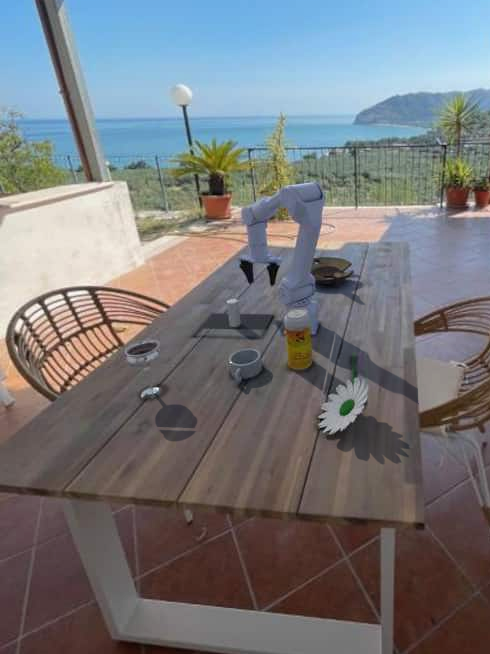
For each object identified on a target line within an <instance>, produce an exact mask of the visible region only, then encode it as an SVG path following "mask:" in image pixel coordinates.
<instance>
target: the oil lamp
mask: <svg viewBox="0 0 490 654" xmlns="http://www.w3.org/2000/svg"><path fill="white" fill-rule="evenodd" d="M352 265H353V264H352V262H350V261H349V260H347V259H344V258H341V257H330V256H318V257H314V259H313V263H312V267H311V271H310V273H311V274H312V275H313V276H314V278H315V279H316V280H315V284H316V283H317V284H332V285H334V286H340V285H341V284H342V283H343V281H344V280H346V279H348V278H350V277H352V275H353V274H354V273H355V271H354V270H349V271H347V270H348V269H349V268H350V267H351V266H352ZM345 271H346V272H345ZM326 277H330V278H326ZM331 277H332V278H331Z"/></svg>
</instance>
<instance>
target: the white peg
mask: <svg viewBox="0 0 490 654" xmlns="http://www.w3.org/2000/svg"><path fill="white" fill-rule="evenodd" d="M226 305H227V306H226V307H227V308H226V309H227V314H228V315H229V323H230V326H231V327H238V326H240V325H241V321H240V314H241V313H240V307H239V306H240V305H239V299H237V298H230V299H227V300H226Z"/></svg>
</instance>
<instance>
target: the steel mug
mask: <svg viewBox="0 0 490 654" xmlns="http://www.w3.org/2000/svg"><path fill="white" fill-rule="evenodd" d="M261 357H262V356H261V352H260V351H259V350H258V349H255V348H243V349H239V350H236V351H235V352H233V353H232V354H230V356H229V357H228V363H229V370H230V375H231V376H232V377H233V378H234V381H235V385H236V386H239V385H240V384H241V382H242V381H243V380H245V379H249V378H253V377H255V376H257V375H258V374H259V373H260V372H261V371H262V369H263V365H262V358H261Z"/></svg>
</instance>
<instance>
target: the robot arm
mask: <svg viewBox="0 0 490 654" xmlns="http://www.w3.org/2000/svg"><path fill="white" fill-rule="evenodd" d="M259 198H260V199H259V200H257V201H253V202H252V205H244V206H242V208H241V209H240V217H241V220H242V223H243V224H244V225H245V228H246V235H247V245H248V253H249V254H238V255H237V256H236V260H237V263H240V264H239V265H238V266H239V267H238V268H239V269H240V270H241V271H242V273H243V274H244V276H245V278H246V280H247V282H248V285H252V284H253V283H254V282H255V279H254V264H267V266H266V271H267V272H268V277H269V285H270V287H274V286H275V285H276V281H277V275H278V272H279V269H280V267H281V265H283V258H282V257H279V256H274V255H270V254H269V247H268V237H267V228H268V221H269V219H270V218H272V217H273V216H275V215H277V213H278V212H279V209H280V208H281V207H284V208H285V210H286V212H287V213H288V215H289V216H290V217H291V219H292V221H293V222H294V223H297V224H298V225H299V226H298V232H297V236H296V241H295V246H294V251H293V256H292V261H291V266H290V271H289V272H288V273H287V274H286V275H285V276H284V277H283V278H282V279H281V284H279V285H278V287H277V296H278V299H279V301H280V302H281V304H283V305H284V306H285V313H286V312H287V311H288V310H290V309H294V308H303V309H305V310H307V312H308V314H309V317H310V333H311V335H316V334H317V331H318V328H319V324H320V320H319V318H320V316H319V303H318V301H315V300H313V296H314V295H315V293H316V282H315V280H316V279H315V278H314V276H313V275H312V274H311V273H310V271H311V267H312V263H313V259H314V258H315V254H316V251H317V246H318V241H319V238H320V233H321V229H322V225H323V224H322V223H323V210H324V205H325V201H326V194H325V192H324V190H323V188H322V186H321V184H320V183H319V182H317V181H310V182H306V183H298V184H292V185H291V184H287V185H284V186H282V187H280V188H279V191H277V192H275V193H274V194H273V195H272V196H267V194H265V195H261V196H259ZM283 334H284V335H286V333H285V329H284V330H283Z"/></svg>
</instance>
